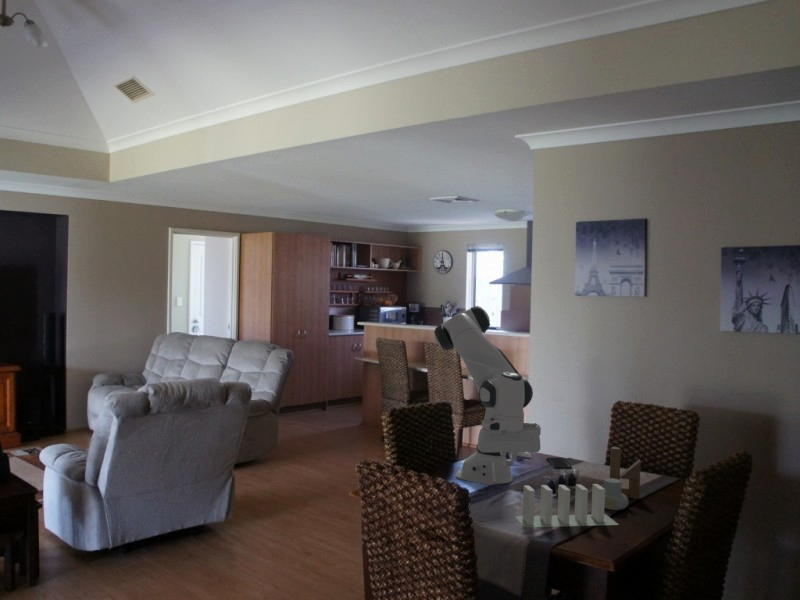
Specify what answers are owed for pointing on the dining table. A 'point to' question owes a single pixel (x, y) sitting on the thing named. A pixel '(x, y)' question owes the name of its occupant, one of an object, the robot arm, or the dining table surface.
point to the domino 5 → (598, 503)
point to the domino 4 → (581, 503)
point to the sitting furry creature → (524, 454)
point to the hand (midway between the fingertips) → (508, 465)
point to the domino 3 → (563, 504)
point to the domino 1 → (528, 504)
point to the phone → (559, 463)
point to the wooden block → (625, 474)
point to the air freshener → (614, 495)
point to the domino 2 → (546, 504)
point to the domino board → (572, 522)
